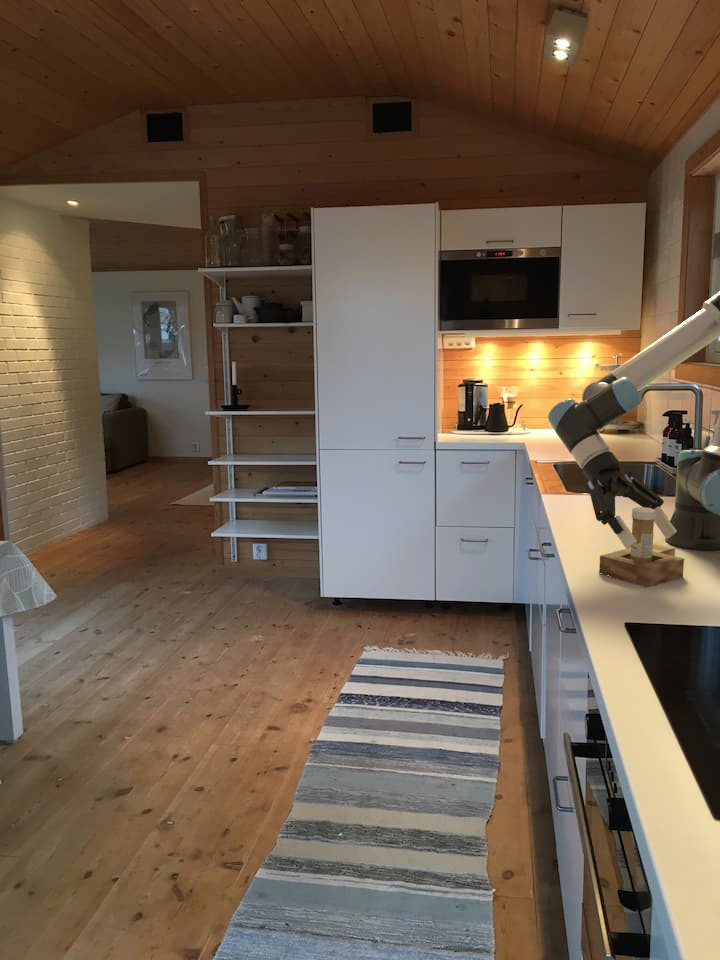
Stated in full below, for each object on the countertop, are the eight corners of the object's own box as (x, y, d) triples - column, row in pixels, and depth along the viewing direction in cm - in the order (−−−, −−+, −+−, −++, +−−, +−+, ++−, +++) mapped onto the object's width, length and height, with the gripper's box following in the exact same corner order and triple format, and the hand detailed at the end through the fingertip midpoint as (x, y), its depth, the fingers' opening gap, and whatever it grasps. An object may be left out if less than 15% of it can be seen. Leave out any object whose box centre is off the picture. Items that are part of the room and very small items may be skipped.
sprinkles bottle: (625, 568, 165) (628, 507, 162) (645, 567, 165) (648, 506, 163) (635, 574, 160) (638, 511, 158) (655, 573, 160) (659, 510, 158)
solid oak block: (650, 559, 174) (651, 542, 174) (674, 565, 169) (675, 547, 169) (634, 563, 171) (635, 546, 170) (657, 570, 166) (658, 552, 165)
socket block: (634, 563, 171) (635, 546, 170) (682, 576, 161) (684, 558, 160) (599, 573, 164) (600, 555, 163) (647, 587, 154) (648, 568, 154)
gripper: (621, 465, 178) (675, 540, 169) (548, 476, 165) (602, 559, 155) (642, 444, 173) (699, 521, 164) (568, 455, 159) (625, 539, 150)
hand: (652, 540), depth 159 cm, fingers open, 13 cm apart
